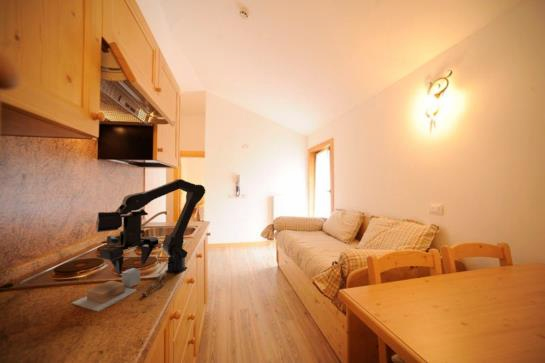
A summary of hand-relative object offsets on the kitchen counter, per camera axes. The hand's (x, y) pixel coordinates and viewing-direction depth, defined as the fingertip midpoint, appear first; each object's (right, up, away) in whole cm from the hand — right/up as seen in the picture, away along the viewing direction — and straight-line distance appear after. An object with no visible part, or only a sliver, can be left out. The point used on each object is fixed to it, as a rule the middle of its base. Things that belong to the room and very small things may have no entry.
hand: (131, 269), depth 75 cm
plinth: (-2, -5, -9) cm, 10 cm away
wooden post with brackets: (+11, -6, -5) cm, 13 cm away
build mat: (-2, -5, -9) cm, 11 cm away
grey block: (0, -6, 0) cm, 6 cm away
